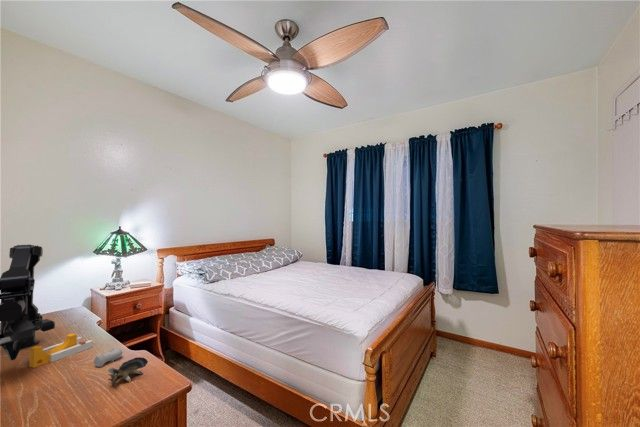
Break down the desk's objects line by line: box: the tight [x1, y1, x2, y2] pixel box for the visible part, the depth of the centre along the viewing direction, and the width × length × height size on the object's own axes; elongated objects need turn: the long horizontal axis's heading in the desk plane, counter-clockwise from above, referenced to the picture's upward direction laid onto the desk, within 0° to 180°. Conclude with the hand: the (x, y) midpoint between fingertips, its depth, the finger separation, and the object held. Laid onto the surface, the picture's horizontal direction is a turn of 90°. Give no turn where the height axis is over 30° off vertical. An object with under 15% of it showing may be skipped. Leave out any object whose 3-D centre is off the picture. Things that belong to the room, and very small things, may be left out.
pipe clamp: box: [29, 333, 78, 368], centre depth 94 cm, size 12×4×6 cm, turn 162°
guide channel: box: [42, 336, 94, 363], centre depth 99 cm, size 9×12×3 cm
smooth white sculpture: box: [93, 348, 123, 368], centre depth 92 cm, size 4×8×5 cm
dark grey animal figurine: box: [107, 356, 149, 388], centre depth 82 cm, size 8×7×9 cm
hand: (12, 359), depth 86 cm, fingers closed
